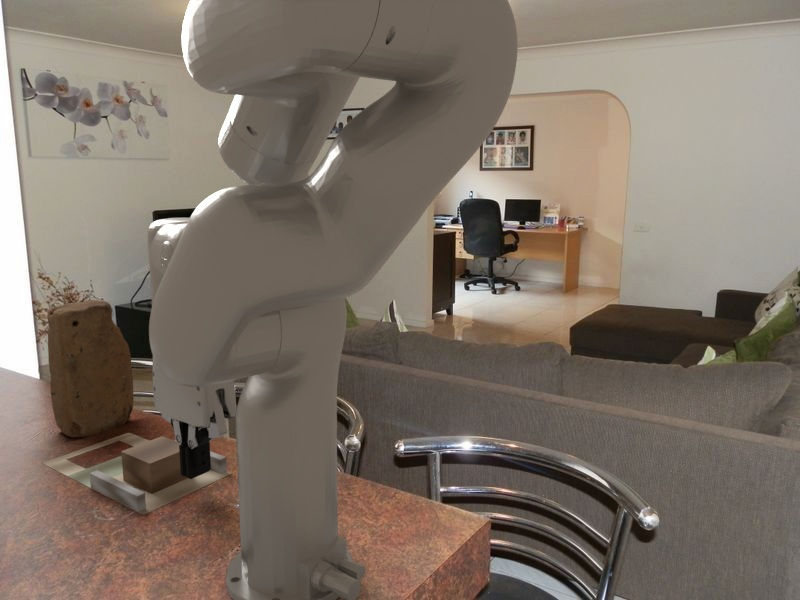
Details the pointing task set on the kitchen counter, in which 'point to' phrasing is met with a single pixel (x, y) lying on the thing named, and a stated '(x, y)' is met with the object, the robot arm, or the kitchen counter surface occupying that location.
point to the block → (88, 369)
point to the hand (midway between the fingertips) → (196, 473)
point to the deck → (111, 484)
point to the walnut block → (152, 465)
